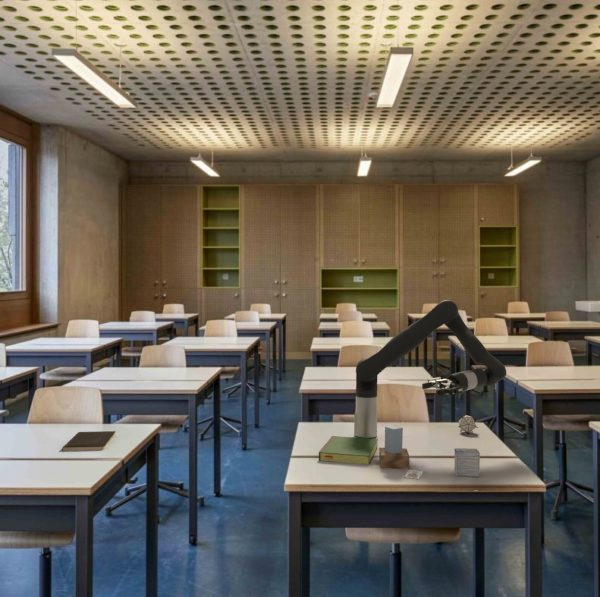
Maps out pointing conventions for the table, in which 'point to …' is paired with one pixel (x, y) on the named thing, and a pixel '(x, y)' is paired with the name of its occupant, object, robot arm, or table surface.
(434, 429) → the table surface
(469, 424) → the game die
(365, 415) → the robot arm
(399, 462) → the base brick
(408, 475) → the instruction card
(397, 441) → the top brick
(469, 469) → the medicine box
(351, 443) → the hardcover book
